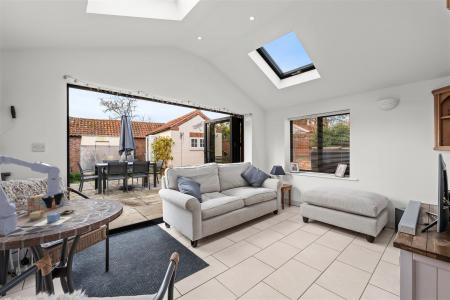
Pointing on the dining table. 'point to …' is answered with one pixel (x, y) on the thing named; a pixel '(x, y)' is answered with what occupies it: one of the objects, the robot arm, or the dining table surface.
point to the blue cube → (53, 217)
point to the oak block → (37, 215)
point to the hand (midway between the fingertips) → (53, 206)
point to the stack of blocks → (40, 204)
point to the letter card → (52, 222)
